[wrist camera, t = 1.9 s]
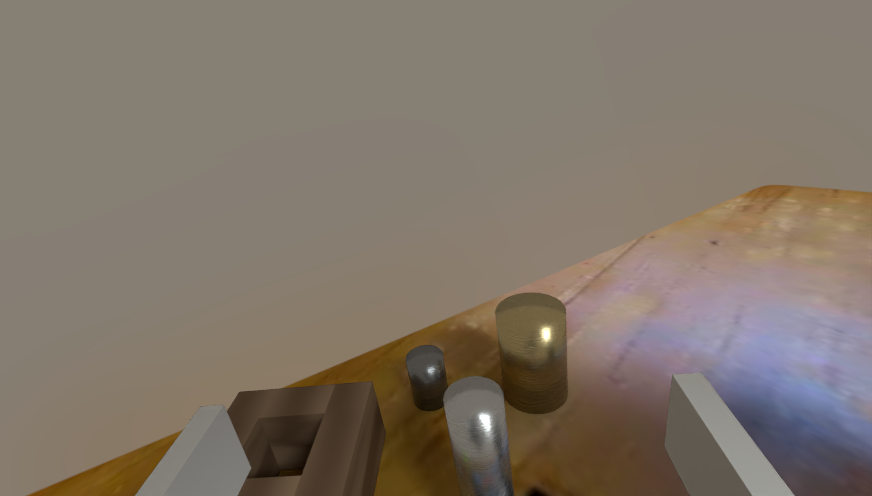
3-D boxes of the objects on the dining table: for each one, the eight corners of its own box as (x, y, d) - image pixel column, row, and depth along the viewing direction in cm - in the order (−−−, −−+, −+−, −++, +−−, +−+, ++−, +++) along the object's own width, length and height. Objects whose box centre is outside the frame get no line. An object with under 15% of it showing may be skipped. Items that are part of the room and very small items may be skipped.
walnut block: (385, 432, 39) (372, 381, 37) (357, 580, 28) (335, 521, 26) (260, 441, 40) (239, 391, 38) (186, 585, 29) (150, 529, 27)
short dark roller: (450, 383, 44) (443, 343, 42) (449, 409, 41) (441, 367, 39) (416, 386, 44) (407, 346, 42) (412, 412, 41) (403, 370, 39)
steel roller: (514, 503, 31) (500, 374, 27) (520, 554, 28) (506, 418, 23) (466, 505, 32) (444, 378, 27) (467, 556, 29) (442, 422, 24)
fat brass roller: (560, 366, 44) (557, 289, 40) (574, 411, 38) (573, 327, 35) (500, 371, 44) (493, 296, 41) (506, 416, 39) (498, 334, 35)
